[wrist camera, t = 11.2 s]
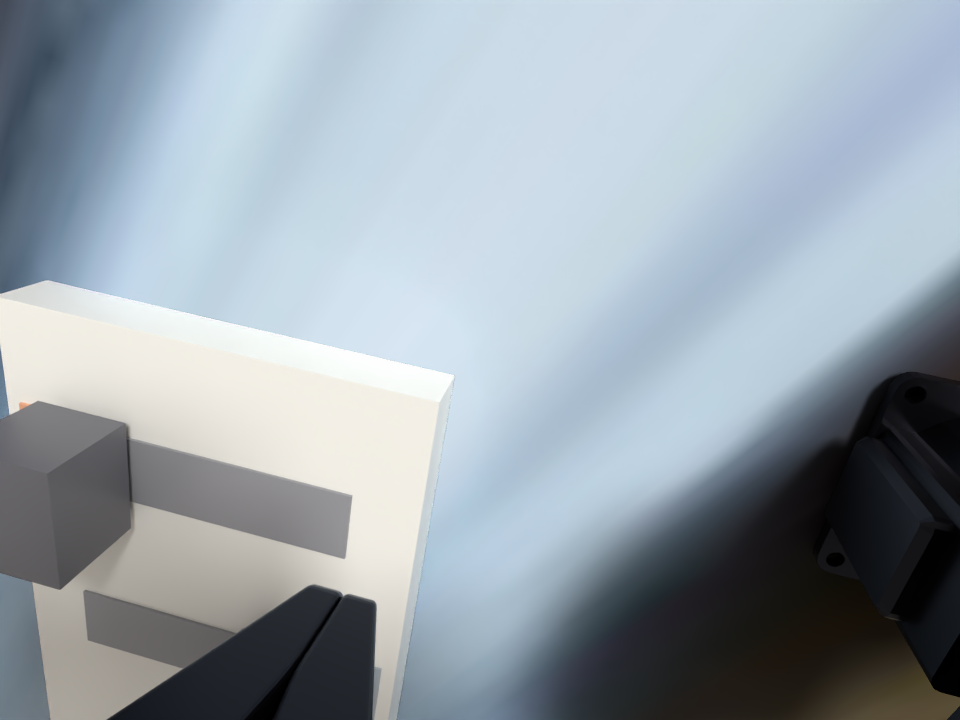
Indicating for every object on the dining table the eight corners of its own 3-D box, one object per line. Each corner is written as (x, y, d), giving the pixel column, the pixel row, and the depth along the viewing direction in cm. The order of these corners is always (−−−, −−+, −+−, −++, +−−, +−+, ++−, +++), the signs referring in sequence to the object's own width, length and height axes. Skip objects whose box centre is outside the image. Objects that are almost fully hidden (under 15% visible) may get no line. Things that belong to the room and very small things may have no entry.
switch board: (454, 375, 20) (438, 403, 18) (374, 850, 29) (357, 903, 27) (47, 280, 21) (-10, 296, 19) (94, 761, 30) (59, 805, 28)
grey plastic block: (125, 423, 20) (47, 473, 17) (131, 527, 21) (59, 589, 18) (37, 400, 20) (-53, 446, 17) (49, 505, 21) (-32, 563, 19)
